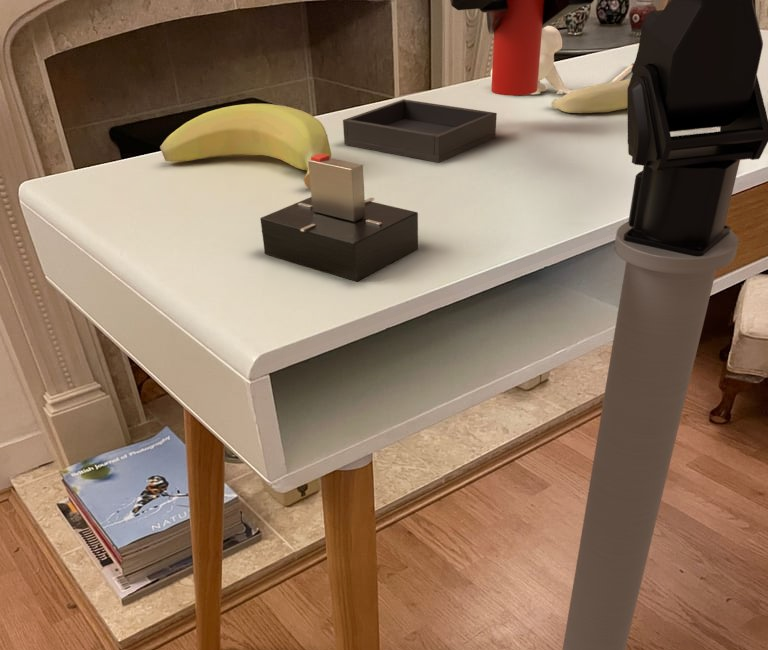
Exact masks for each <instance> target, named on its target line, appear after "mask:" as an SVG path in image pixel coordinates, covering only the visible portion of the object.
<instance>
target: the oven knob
mask: <svg viewBox="0 0 768 650" xmlns="http://www.w3.org/2000/svg"><path fill="white" fill-rule="evenodd" d="M308 165H309V176H310V187H311V189H310V197H311V198H312V209H313V212H317V213H321V214H325V215H329V216H333V217H337V218H341V219H345V220H349V221H353V222H355V221H358V220H360V219H362V218H364V217H365V200H366V199H365V181H364V179H365V177H364V164H362V163H355V162H351V161H346V160H342V159H336V158H333V157H331V158H329V155H326V154H321V153H320V154H317V155H314V156H312V157H311V159H310V160H308Z"/></svg>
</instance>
